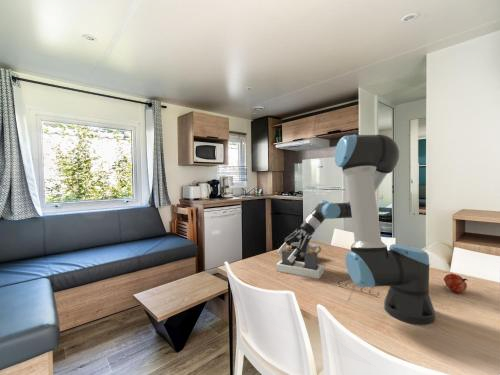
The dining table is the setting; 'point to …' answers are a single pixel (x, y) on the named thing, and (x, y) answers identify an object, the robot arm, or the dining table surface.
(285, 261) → the plug
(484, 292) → the dining table surface
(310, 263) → the twin plug
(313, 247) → the teacup
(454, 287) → the red fruit with stem
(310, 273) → the strip
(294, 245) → the coffee mug
